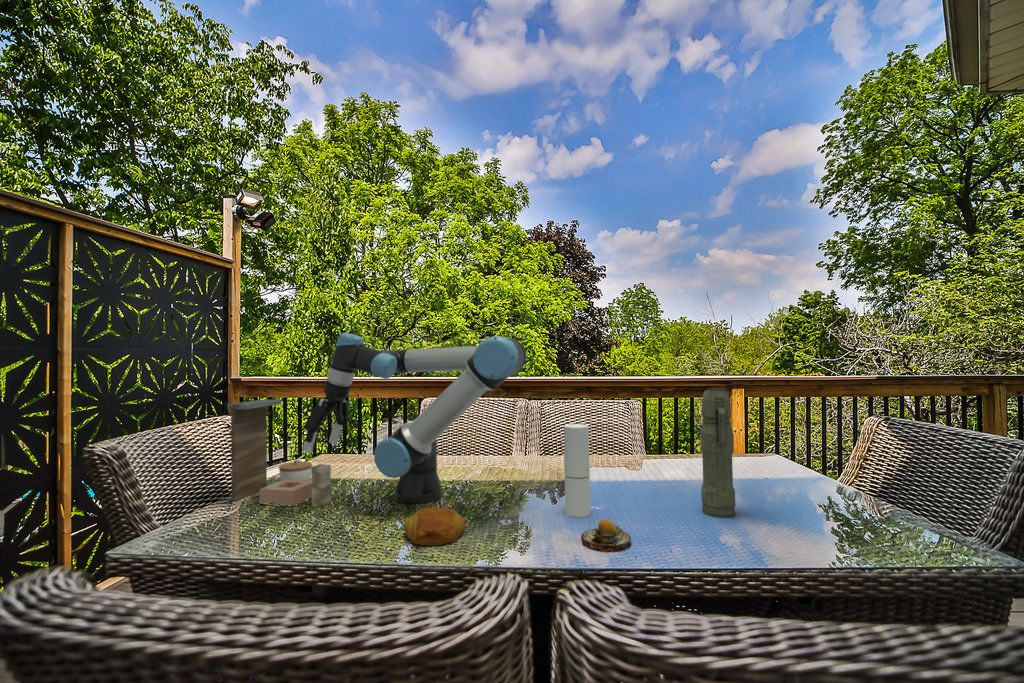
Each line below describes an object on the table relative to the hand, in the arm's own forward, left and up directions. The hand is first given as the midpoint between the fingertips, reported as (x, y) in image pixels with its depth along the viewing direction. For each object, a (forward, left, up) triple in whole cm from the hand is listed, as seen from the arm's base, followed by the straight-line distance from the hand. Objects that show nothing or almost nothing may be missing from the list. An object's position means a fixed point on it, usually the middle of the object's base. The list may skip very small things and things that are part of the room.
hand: (320, 447), depth 158 cm
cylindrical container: (-79, -6, -18) cm, 81 cm away
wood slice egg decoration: (-88, +15, -18) cm, 91 cm away
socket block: (+13, -2, -18) cm, 22 cm away
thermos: (-118, -14, -18) cm, 120 cm away
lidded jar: (+22, -17, -18) cm, 33 cm away
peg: (0, 0, -18) cm, 18 cm away
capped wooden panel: (+25, -2, -18) cm, 31 cm away
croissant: (-45, +19, -18) cm, 52 cm away
